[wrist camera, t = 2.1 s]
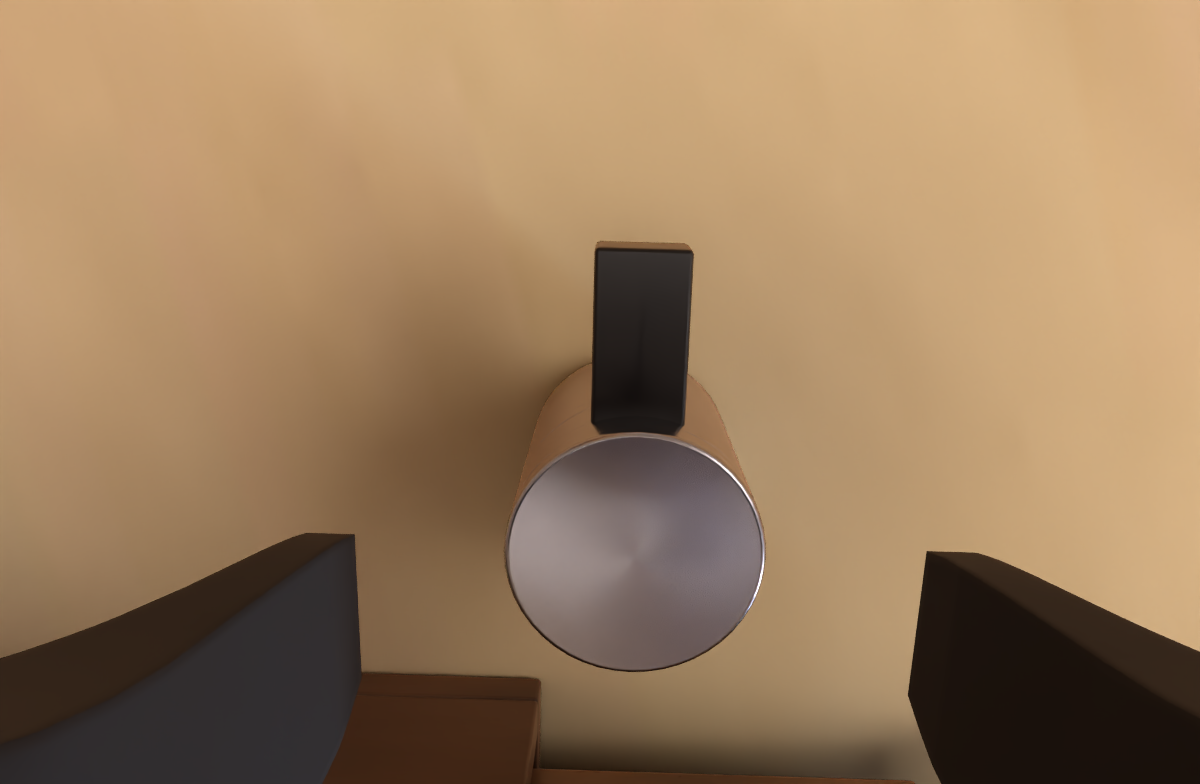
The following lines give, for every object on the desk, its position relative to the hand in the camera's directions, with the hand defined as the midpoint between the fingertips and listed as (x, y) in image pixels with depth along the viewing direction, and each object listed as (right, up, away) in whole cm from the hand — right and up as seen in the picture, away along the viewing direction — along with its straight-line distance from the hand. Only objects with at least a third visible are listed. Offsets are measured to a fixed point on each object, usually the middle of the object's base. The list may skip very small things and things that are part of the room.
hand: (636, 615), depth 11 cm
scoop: (0, +3, +6) cm, 7 cm away
